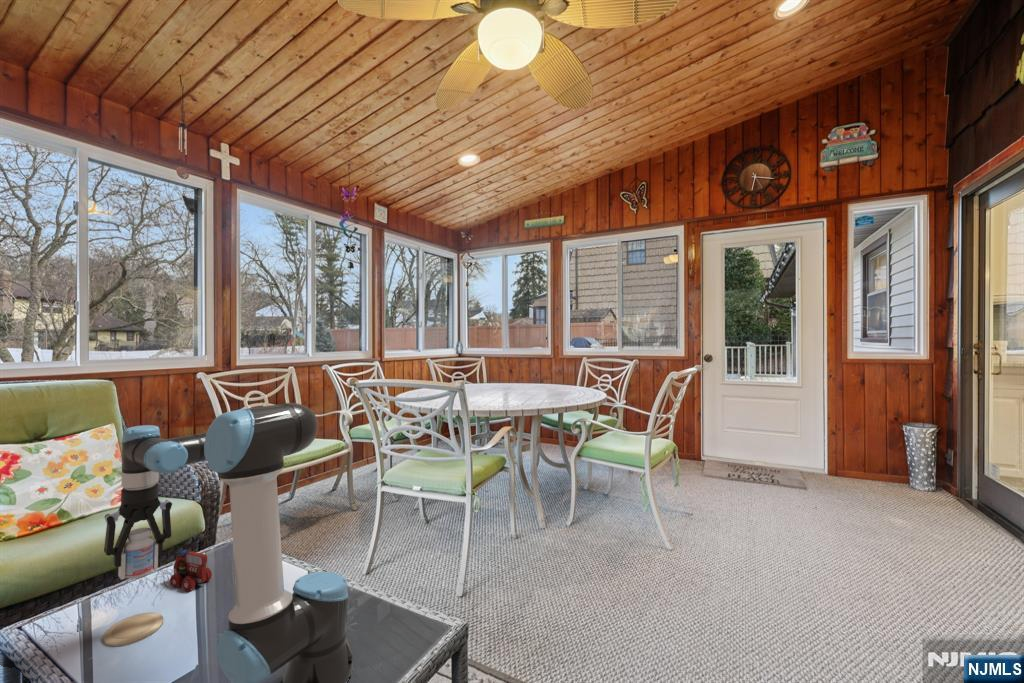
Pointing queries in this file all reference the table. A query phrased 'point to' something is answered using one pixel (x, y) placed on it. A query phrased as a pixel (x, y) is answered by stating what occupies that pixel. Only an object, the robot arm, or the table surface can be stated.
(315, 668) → the robot arm
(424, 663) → the table surface
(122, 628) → the plate
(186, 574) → the toy fire truck
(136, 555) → the pill bottle
